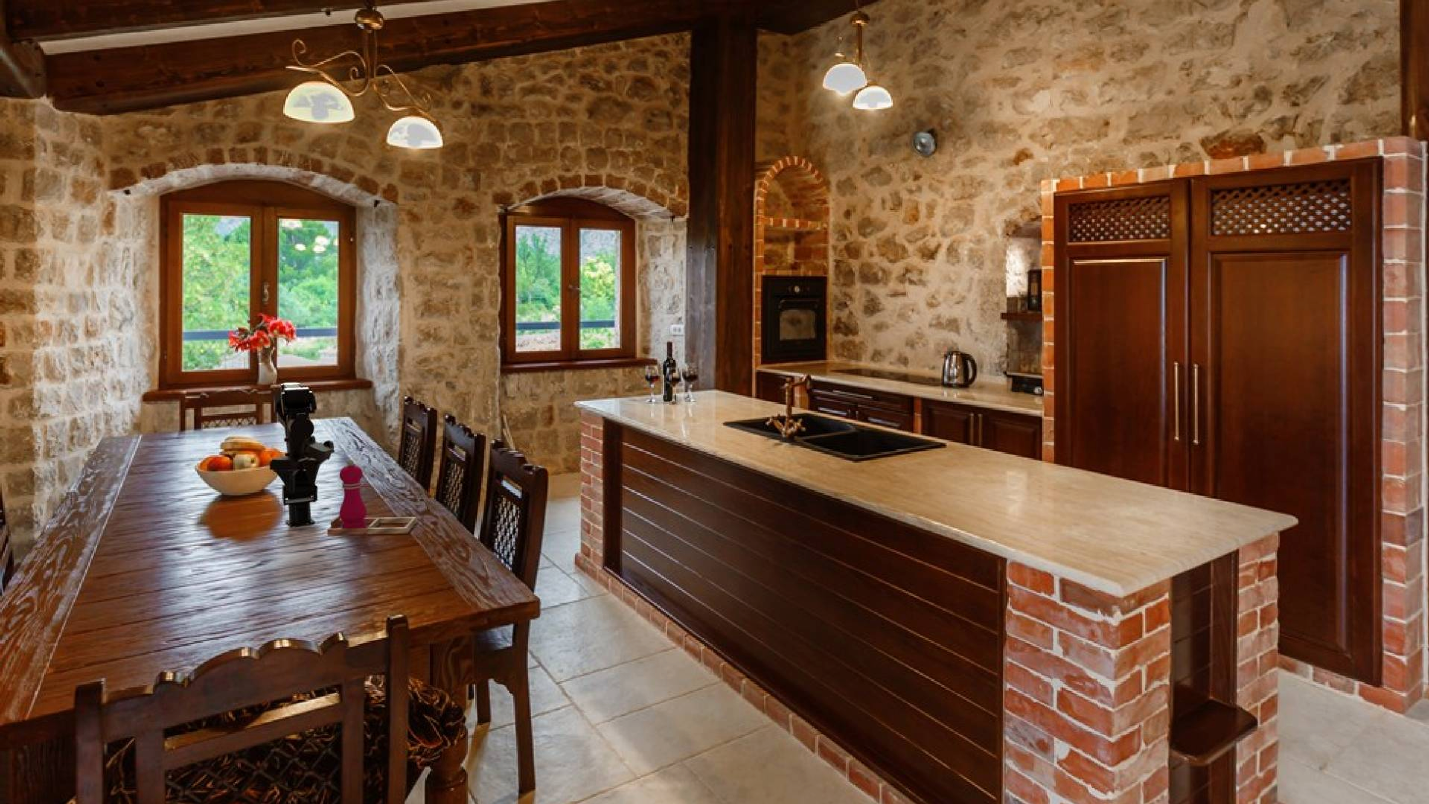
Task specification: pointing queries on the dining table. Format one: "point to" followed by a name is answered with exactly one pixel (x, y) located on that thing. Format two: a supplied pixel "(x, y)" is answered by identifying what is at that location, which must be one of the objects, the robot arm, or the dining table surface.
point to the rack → (372, 526)
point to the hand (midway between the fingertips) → (302, 488)
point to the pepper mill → (352, 497)
